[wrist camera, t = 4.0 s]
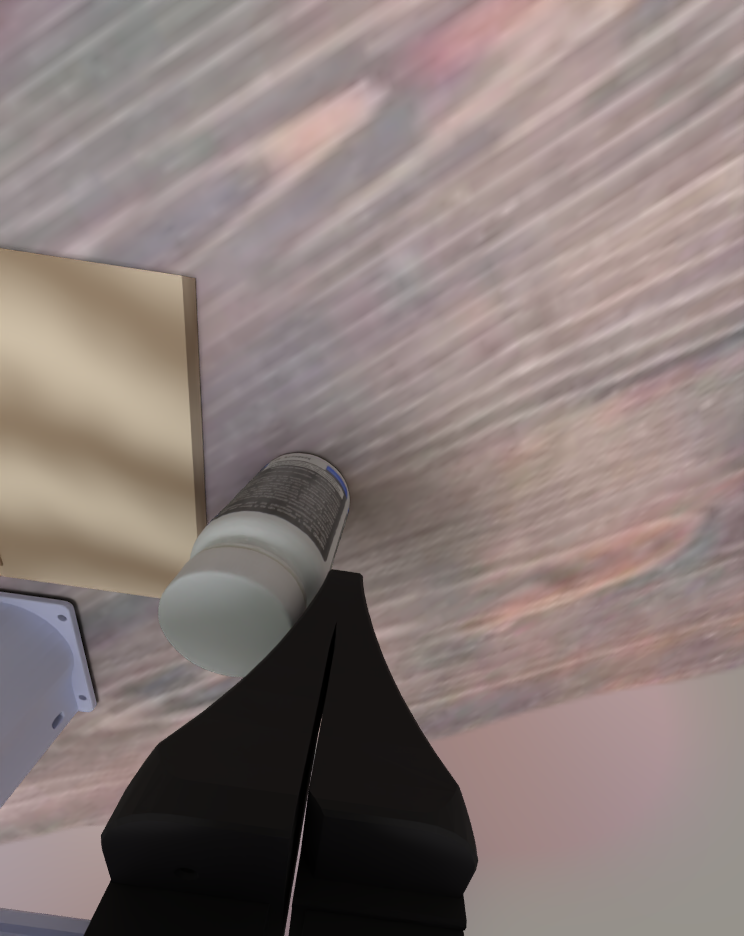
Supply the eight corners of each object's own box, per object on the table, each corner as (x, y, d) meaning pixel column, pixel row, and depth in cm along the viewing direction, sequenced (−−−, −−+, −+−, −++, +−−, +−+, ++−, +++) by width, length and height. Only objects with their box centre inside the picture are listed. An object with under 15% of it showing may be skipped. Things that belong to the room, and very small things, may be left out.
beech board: (209, 591, 21) (200, 605, 20) (-2, 561, 20) (-22, 574, 19) (195, 278, 14) (180, 275, 13) (-108, 232, 14) (-146, 225, 13)
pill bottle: (247, 455, 17) (116, 562, 10) (343, 446, 17) (287, 554, 9) (269, 539, 19) (173, 688, 11) (357, 534, 18) (320, 689, 11)
